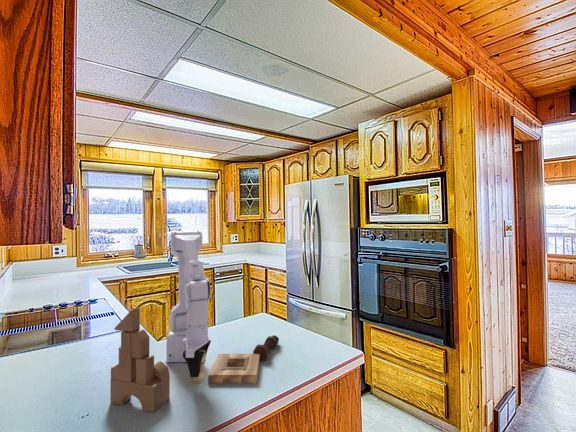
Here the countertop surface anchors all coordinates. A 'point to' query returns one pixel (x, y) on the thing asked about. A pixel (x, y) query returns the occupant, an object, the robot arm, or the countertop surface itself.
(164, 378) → the wooden toy
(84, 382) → the countertop surface
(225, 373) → the board
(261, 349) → the bolt
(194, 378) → the peg
